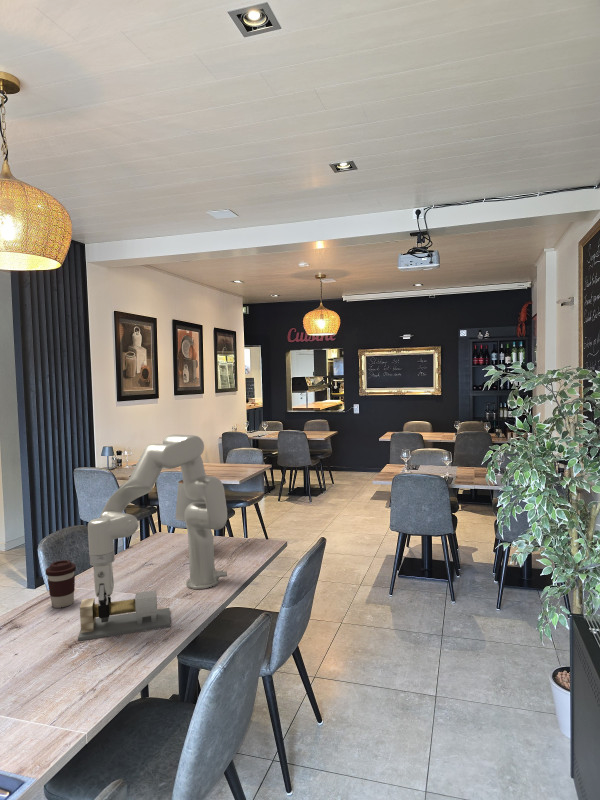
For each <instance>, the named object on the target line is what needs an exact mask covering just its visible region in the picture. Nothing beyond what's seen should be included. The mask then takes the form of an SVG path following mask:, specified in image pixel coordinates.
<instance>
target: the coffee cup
mask: <svg viewBox="0 0 600 800" xmlns="http://www.w3.org/2000/svg"><path fill="white" fill-rule="evenodd" d="M76 570H77V565H76V563H74V562H72V561H71V560H69V559H65V560H63V559H62V560H58V561H53V562H51V563H50V565H49V566H48V567H47V568H46V569H45V575H46V576H47V584H48V586H47V587H48V592H49V596H50V602H51V606H52V608H56V609H60V608H61V607H62V608H66V607H68V606H71V605H72V604H74V603H75V601H74V600H75V587H76V586H75V585H76V584H75V582H76V580H75V579H76V574H75V571H76ZM62 608H61V609H62Z"/></svg>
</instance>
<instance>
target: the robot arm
mask: <svg viewBox="0 0 600 800" xmlns="http://www.w3.org/2000/svg"><path fill="white" fill-rule="evenodd" d="M204 450H205V444H204V441H203V439H202V438H201V437H199V436H198V435H194V434H170V435H167V436H165V438H164V439H163V441H162V443H152V444H149V445H147V446H146V447H145V448H144V449H143V452H142V453H141V455H140V457H139V459H138V460H137V463H136V465H135V467H134V469H133V470H132V473H131V475H130V477H129V478H128V480H127V481H126V482H125V483H124V484H123V485H121V486H120V487H119V488H118V489H117V490H116V491H115V492H114V493H113V494H112V495H111V496H110V497H109V498H108V500H107V501H106V504H105V505H104V506H103V509H102V511H101V513H100V515H99V517H98V518H93V519H91V520H89V521H88V523H87V535H88V536H87V539H88V554H89V555H88V556H89V565H90V566H93V576H94V577H93V578H94V579H93V582H94V592H95V597H96V598H98V604H99V605H98V612H99V617H98V618H105V617H109V616H111V615H110V611H109V604H108V595H109V602H112V598H111V597H112V595H113V592H114V588H115V580H114V570H113V563H114V562H115V561H116V560H115V556H116V555H115V542H114V540H117V539H123V538H129V537H131V536H133V535H134V534H135V533H136V532H137V531H138V528H139V520H138V519H137V517H136V516H135V515H133V514H130V513H125V512H124V511H125V510H126V508H127V506H128V505H129V504H131V502H133V501H135V500H137V499H138V498H140V497H143V496H144V495H147V494H149V493H150V492H152V490H153V489H154V486H155V484H156V481H158V478H159V475H160V473H161V472H162V470H163V469H166V470H172V469H176V468H179V467H180V469H181V470H180V471H181V475H182V480H183V483H184V490H185V494H186V496H187V497H188V498H190V499H193V500H199V501H205V502H193V503H191V504H189V505H188V506H187V508H186V510H185V514H184V517H185V521H184V522H185V526H186V530H187V538H188V539H187V540H188V558H189V559H188V562H189V578H188V579H187V580H186V587H188V588H189V589H193V590H204V589H210V588H212V586H213V587H215V586H217V585H218V584H219V583H220V578H225V577H228V572H227V571H228V570H226V571H224V570H222V569H221V570H216V568H215V552H214V551H215V548H214V547H215V546H214V535H213V531H218V530H221V529H223V528H224V527H225V526H226V524H227V520H228V506H227V500H226V499H227V498H226V493H225V492H226V491H225V487H224V484H223V483H222V481H221V480H220V478H218V477H216V476H214V475H213V476H212V475H208V474H206V470H205V466H204V461H203V458H202V456H201V455H202V454H203V453H204ZM212 530H213V531H212ZM209 587H210V588H209ZM104 597H106V599H104Z"/></svg>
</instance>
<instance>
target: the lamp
mask: <svg viewBox="0 0 600 800" xmlns="http://www.w3.org/2000/svg"><path fill="white" fill-rule="evenodd" d="M193 502H205V501H199V500H193V499H190V498H188V497H187V496H186V494H185V490H184V483H183V479H181V480H178V484H177V495H176V505H175V506H176V507H175V516H174V517H175V520H177V521H181V522H185V517H184V514H185V510H186V508H187V506H188V505H189V504H191V503H193Z"/></svg>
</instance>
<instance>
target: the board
mask: <svg viewBox="0 0 600 800" xmlns="http://www.w3.org/2000/svg"><path fill="white" fill-rule="evenodd" d="M170 609H171V608H170V607H165V608H157V621H155V622H151V616H146V617H143V622H142V623H141V624H137V618H136V612H131V613H124V614H117V615H110V616H109V620H108V622H103V623H101V618H99V617H96V623H95V627H94V631H91V632H84V633H81V629H80V631H79V633H78V635H77V641H78V642H80V641H85V640H86V641H88V640H93V639H101V638H107V637H108V638H109V637H113V636H119V635H125V634H126V635H127V634H133V633H140V632H146V631H147V632H148V631H152V630H153V629H154V630H160V629H165V628H164V627H167V628H171V612H170V611H171V610H170ZM159 628H160V629H159Z"/></svg>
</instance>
